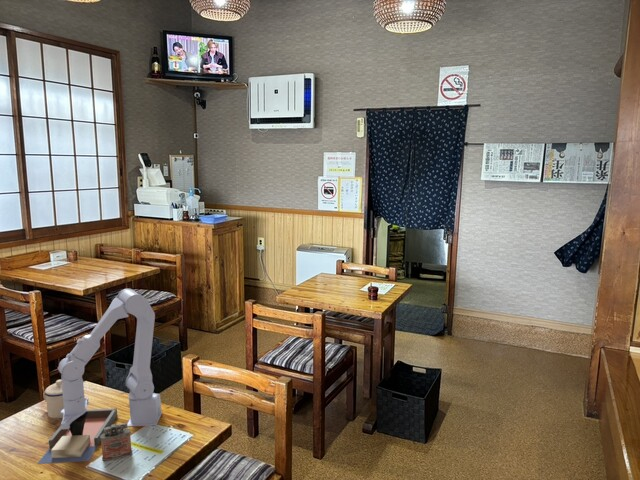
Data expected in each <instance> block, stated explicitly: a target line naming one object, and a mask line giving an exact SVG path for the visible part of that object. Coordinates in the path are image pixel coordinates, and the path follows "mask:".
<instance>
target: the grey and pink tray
mask: <svg viewBox="0 0 640 480" xmlns="http://www.w3.org/2000/svg"><path fill="white" fill-rule="evenodd" d="M86 412H88V415H87V418H86V420H85V424H84V429H83V435H90V444H89V445H88V447H94V446H98V447H99V445H100V444H101V440H100V436H101V435H102V434H104V433H105V432H104V428H105V427H110V426H111V425H112V424H114V422H115V420H116V418H117V417H118V408H99V409H94V408H93V409H92V408H91V409H87V410H86ZM62 436H72V434H71V432H70V430H69V429H61V425H60V426H59V427H58V428H57V430H56V431H55V432H54V433H53V435H52V436H51V437H50V438H49V439H48V445H49V446H48V447H49V448H48V449H53V447H54V446H55V445H56V443H57V442H58V441H59V440H60V438H61V437H62Z"/></svg>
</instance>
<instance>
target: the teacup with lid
mask: <svg viewBox="0 0 640 480" xmlns="http://www.w3.org/2000/svg"><path fill="white" fill-rule="evenodd" d="M42 395H43V396H42V397H43V400H44V402H45V403H46V409H47V416H48V418H50V419H60V418H62V419H63V414H61V413H60V412H61V411H62V410H63V409H64V403H63V394H62V381H61V379H57V380H56V381H55V383H52V384H51V385H49V386H48V387H46V388H45V390H44V392H43V394H42Z"/></svg>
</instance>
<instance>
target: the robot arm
mask: <svg viewBox="0 0 640 480" xmlns="http://www.w3.org/2000/svg"><path fill="white" fill-rule="evenodd" d="M129 314H130V315H133V316H134V317H135V318H136V320H137V321H136V329H135V330H136V332H135V340H134V351H133V361H132V366H131V367H130V368H129V373H128V375H127V376H126V379H125V386H126V387H127V389H129V393H128V404H129V406H128V407H129V416H130V418H129V420H128V422H127V426H128V427H148V426H151V427H153V426H157V425H158V423H159V421H160V419H161V416H162V414H163V411H162V401H161V400H162V399H161V398H162V397H161V394H160V393H155V392H154V390H155V386H154V383H153V374H152V370H151V358H152V350H153V349H152V348H153V338H154V330H155V319H156V314H155V311H154V310H153V307H152V306H151V303H150V301H149V300H148V298H146V297H144V296H143V295H141V294H140V293H138V292H137V291H135V289H132V288H124V289H122V290H120V291H119V292H118V294H117V295H116V296H115V298H113V299H112V301H111V303H110V305H109V307H108V308H107V309H106V311H105V312H104V313H103V315H102V316H101V318H100V319H99V320H98V322H97V323H96V325H95V327H94V328H93V329H92V331H91V332H90V333H89V334H86V335H83V336H82V337H81V338H80V337H79V338H78V339H77V341H76V345H75V346H74V347H73V349H72V350H71V351H70V353H67V354H66V356H65V358H63V359H61V360H60V361H59V363H58V366H57V370H58V372H59V373H60V374H61V376H60V377H61V379H60V380H61V381H62V394H63V403H64V409H63V410H62V411H61V412H60V413H61V414H63V417H62V420H61V423H60V426H61V429H69V430H70V432H71V434H72V436H75V435H83V429H84V424H85V420H86V418H87V415H88V412H86V410H88V409H87V408H88V405H90V404H89V402H90V401H89V397H85V387H84V379H83V375H84V373H85V366H86V365H87V364H88V363H89V362H90V360H91V359H92V357H93V356H94V355H95V353H97V351H98V350H99V348H100V347H101V339H102V338H103V337H104V336H105V334H107V332H108V331H109V330H110V329H111V328H112V326H113V325H114V324H115V323H116V322H117V321H118V320H120V319H124V318H128V317H129Z"/></svg>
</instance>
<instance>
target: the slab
mask: <svg viewBox="0 0 640 480" xmlns="http://www.w3.org/2000/svg"><path fill="white" fill-rule="evenodd" d="M89 444H90V435H75V436H62V437H61V438H60V440H59V441H58V442H57V443H56V445H55V446H54V447H53V448H51V449H52V450H51V453H52V458H63V457H81V456H82V454H83V453H84V451H85V450H86V448H87V447H88V445H89Z"/></svg>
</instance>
